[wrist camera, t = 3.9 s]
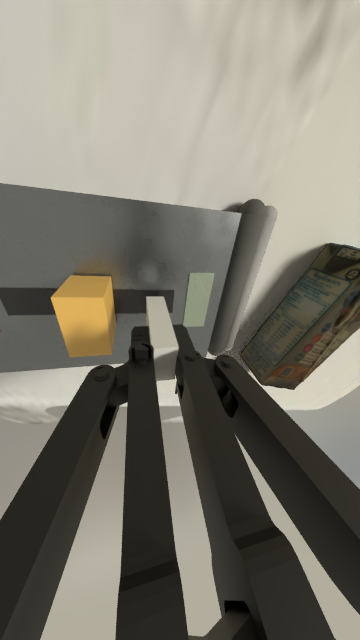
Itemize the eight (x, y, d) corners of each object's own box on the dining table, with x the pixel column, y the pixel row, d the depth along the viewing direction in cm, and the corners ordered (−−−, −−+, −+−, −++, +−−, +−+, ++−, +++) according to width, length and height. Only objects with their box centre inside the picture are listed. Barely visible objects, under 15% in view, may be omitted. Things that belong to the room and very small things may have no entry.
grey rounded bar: (237, 197, 16) (251, 196, 14) (273, 202, 17) (291, 202, 15) (203, 348, 26) (208, 359, 24) (227, 346, 27) (234, 357, 25)
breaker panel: (-115, 169, 11) (-189, 159, 9) (226, 211, 17) (242, 213, 14) (-3, 353, 20) (-24, 375, 17) (199, 342, 25) (206, 357, 23)
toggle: (70, 275, 14) (50, 297, 11) (111, 276, 15) (103, 297, 11) (82, 327, 17) (69, 357, 13) (116, 326, 17) (111, 354, 14)
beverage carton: (359, 265, 24) (424, 283, 19) (268, 363, 32) (295, 395, 27) (327, 239, 21) (394, 252, 15) (235, 354, 29) (258, 389, 24)
